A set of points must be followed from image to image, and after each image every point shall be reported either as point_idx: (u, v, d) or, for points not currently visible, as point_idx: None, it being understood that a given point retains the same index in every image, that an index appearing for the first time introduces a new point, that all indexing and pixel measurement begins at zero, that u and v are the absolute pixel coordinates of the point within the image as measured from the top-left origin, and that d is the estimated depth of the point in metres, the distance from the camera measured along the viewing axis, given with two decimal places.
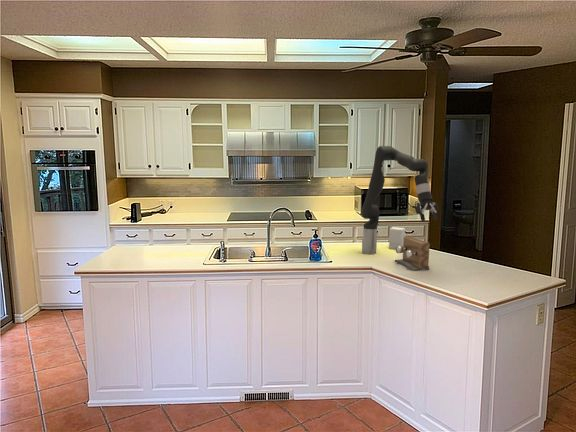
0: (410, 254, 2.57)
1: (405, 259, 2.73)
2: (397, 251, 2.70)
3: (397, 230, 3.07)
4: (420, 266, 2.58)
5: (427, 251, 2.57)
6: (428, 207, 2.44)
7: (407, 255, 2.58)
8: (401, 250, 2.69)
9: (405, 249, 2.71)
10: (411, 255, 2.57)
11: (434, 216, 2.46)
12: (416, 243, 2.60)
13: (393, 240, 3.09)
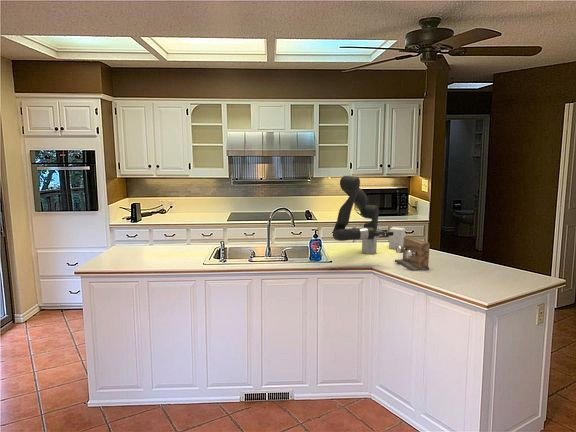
0: (410, 254, 2.57)
1: (405, 259, 2.73)
2: (397, 251, 2.70)
3: (397, 230, 3.07)
4: (420, 266, 2.58)
5: (427, 251, 2.57)
6: None
7: (407, 255, 2.58)
8: (401, 250, 2.69)
9: (405, 249, 2.71)
10: (411, 255, 2.57)
11: None
12: (416, 243, 2.60)
13: (393, 240, 3.09)
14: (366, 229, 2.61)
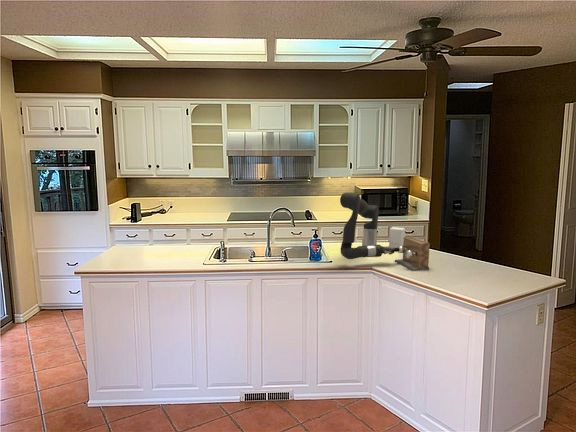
0: (410, 254, 2.57)
1: (405, 259, 2.73)
2: None
3: (397, 230, 3.07)
4: (420, 266, 2.58)
5: (427, 251, 2.57)
6: None
7: (407, 255, 2.58)
8: (402, 250, 2.69)
9: (406, 249, 2.71)
10: (411, 255, 2.57)
11: None
12: (416, 243, 2.60)
13: (393, 240, 3.09)
14: (374, 247, 2.64)
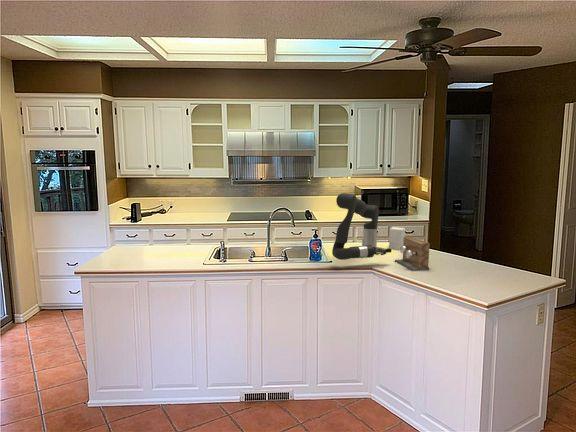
0: (410, 254, 2.57)
1: (405, 259, 2.73)
2: (401, 251, 2.71)
3: (397, 230, 3.07)
4: (420, 266, 2.58)
5: (427, 251, 2.57)
6: None
7: (407, 255, 2.58)
8: (405, 250, 2.70)
9: None
10: (411, 255, 2.57)
11: None
12: (416, 243, 2.60)
13: (393, 240, 3.09)
14: (365, 247, 2.62)
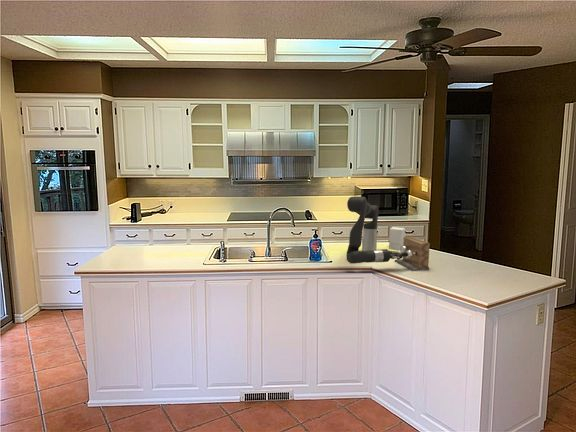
0: (410, 254, 2.57)
1: (405, 259, 2.73)
2: (401, 251, 2.71)
3: (397, 230, 3.07)
4: (420, 266, 2.58)
5: (427, 251, 2.57)
6: None
7: None
8: (405, 250, 2.70)
9: None
10: (411, 255, 2.57)
11: None
12: (416, 243, 2.60)
13: (393, 240, 3.09)
14: (381, 251, 2.52)
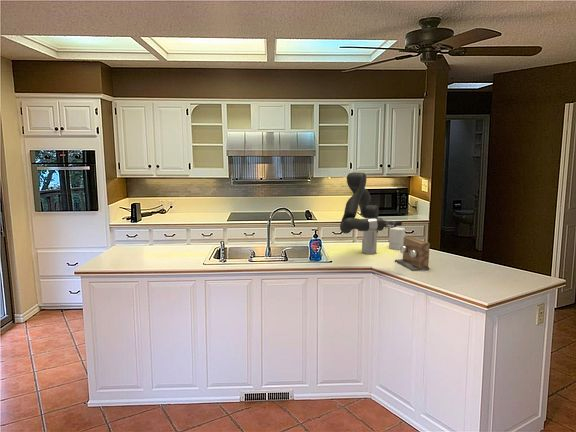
0: (415, 254, 2.58)
1: (405, 259, 2.73)
2: (401, 251, 2.71)
3: (397, 230, 3.07)
4: (420, 266, 2.58)
5: (427, 251, 2.57)
6: None
7: (412, 255, 2.59)
8: (405, 250, 2.70)
9: None
10: (416, 255, 2.58)
11: None
12: (416, 243, 2.60)
13: (393, 240, 3.09)
14: (375, 220, 2.48)
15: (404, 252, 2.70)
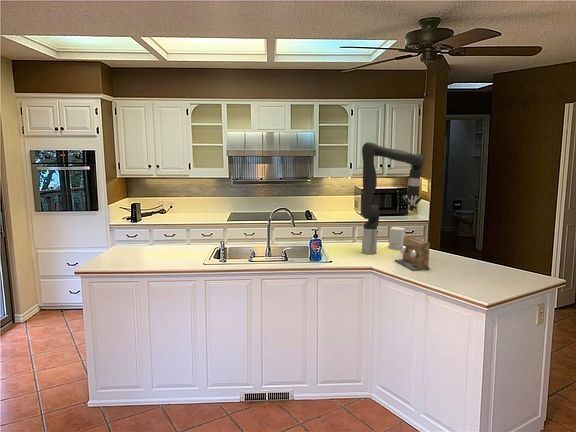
0: (415, 254, 2.58)
1: (405, 259, 2.73)
2: (401, 251, 2.71)
3: (397, 230, 3.07)
4: (420, 266, 2.58)
5: (427, 251, 2.57)
6: (413, 198, 2.83)
7: (412, 255, 2.59)
8: (405, 250, 2.70)
9: None
10: (416, 255, 2.58)
11: None
12: (416, 243, 2.60)
13: (393, 240, 3.09)
14: None
15: (404, 252, 2.70)
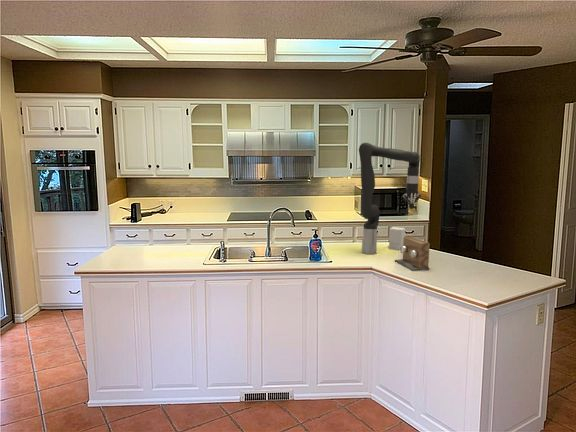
0: (415, 254, 2.58)
1: (405, 259, 2.73)
2: (401, 251, 2.71)
3: (397, 230, 3.07)
4: (420, 266, 2.58)
5: (427, 251, 2.57)
6: (412, 196, 2.85)
7: (412, 255, 2.59)
8: (405, 250, 2.70)
9: None
10: (416, 255, 2.58)
11: None
12: (416, 243, 2.60)
13: (393, 240, 3.09)
14: None
15: (404, 252, 2.70)
